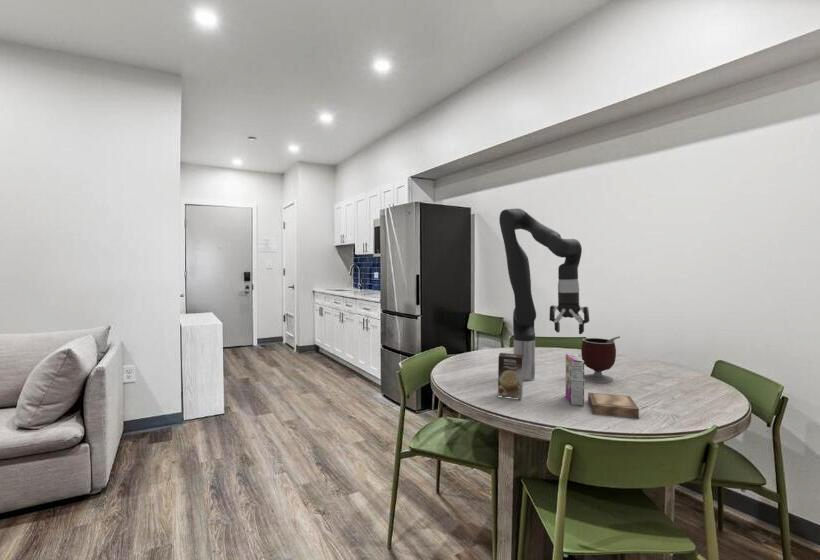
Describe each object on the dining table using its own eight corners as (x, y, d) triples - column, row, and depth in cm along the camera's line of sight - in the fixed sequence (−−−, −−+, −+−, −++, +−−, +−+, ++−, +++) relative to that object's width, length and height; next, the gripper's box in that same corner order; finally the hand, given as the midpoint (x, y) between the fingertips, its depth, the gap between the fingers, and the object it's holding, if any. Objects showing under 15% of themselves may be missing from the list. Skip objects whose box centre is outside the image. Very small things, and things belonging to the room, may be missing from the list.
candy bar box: (564, 395, 159) (565, 353, 158) (578, 396, 158) (578, 354, 157) (569, 405, 148) (570, 360, 147) (584, 406, 147) (585, 360, 146)
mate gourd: (576, 379, 181) (577, 334, 180) (586, 373, 192) (587, 330, 191) (614, 386, 171) (615, 338, 170) (623, 379, 182) (624, 334, 181)
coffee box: (497, 397, 156) (497, 355, 156) (499, 392, 162) (499, 352, 162) (522, 400, 153) (522, 357, 153) (523, 395, 160) (523, 354, 159)
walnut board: (592, 413, 140) (592, 404, 140) (588, 400, 153) (588, 392, 153) (638, 418, 136) (638, 408, 136) (629, 404, 149) (630, 395, 149)
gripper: (546, 291, 159) (547, 333, 160) (585, 292, 151) (586, 336, 151) (552, 290, 165) (553, 330, 166) (590, 290, 156) (591, 332, 157)
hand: (569, 333), depth 158 cm, fingers open, 8 cm apart
